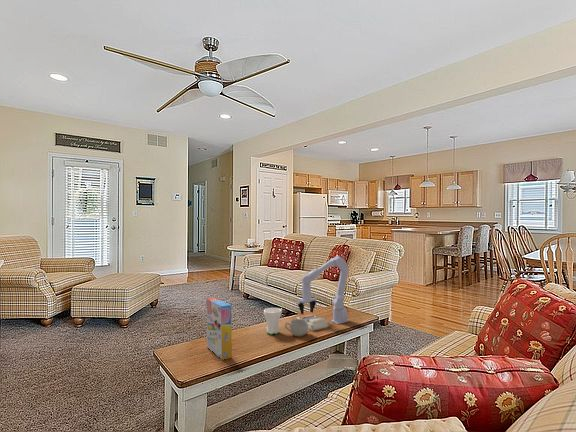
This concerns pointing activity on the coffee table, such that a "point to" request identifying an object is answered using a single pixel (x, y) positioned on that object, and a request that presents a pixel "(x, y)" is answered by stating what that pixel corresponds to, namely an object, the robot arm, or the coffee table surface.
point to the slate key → (310, 318)
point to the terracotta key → (306, 316)
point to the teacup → (298, 327)
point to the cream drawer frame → (317, 325)
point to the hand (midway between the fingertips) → (306, 313)
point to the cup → (272, 320)
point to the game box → (219, 327)
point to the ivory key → (316, 320)
